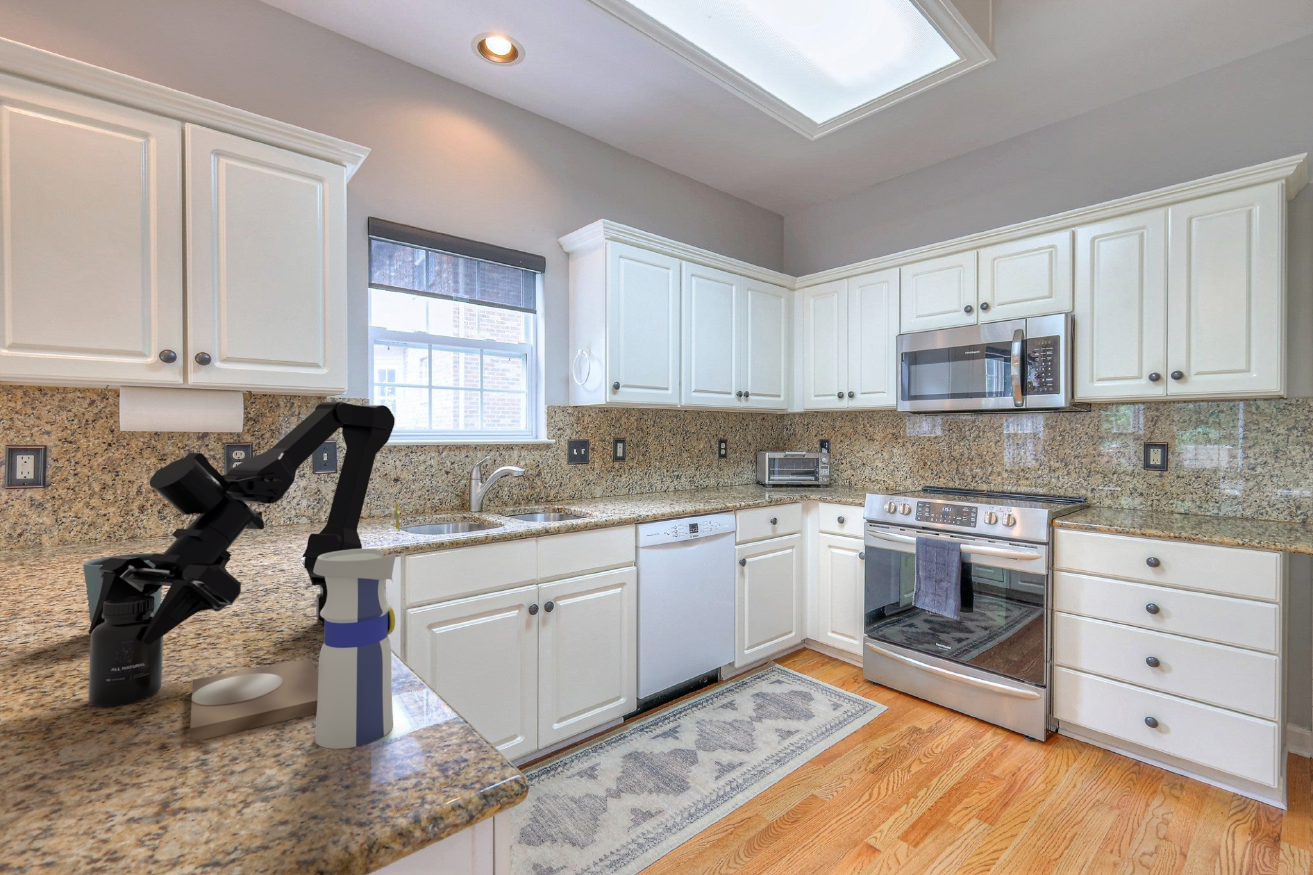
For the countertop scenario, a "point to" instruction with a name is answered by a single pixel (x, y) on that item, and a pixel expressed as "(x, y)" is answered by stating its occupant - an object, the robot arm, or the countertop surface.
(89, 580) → the blue-grey cup
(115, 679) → the supplement bottle
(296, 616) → the countertop surface
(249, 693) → the walnut board
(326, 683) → the water bottle
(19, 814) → the countertop surface
